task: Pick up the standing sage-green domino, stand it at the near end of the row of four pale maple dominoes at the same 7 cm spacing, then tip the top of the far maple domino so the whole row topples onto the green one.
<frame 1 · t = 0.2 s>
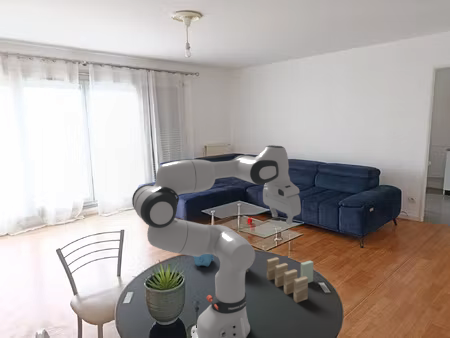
hand: (281, 220, 121), 39 cm above the table, tool pointing down, fingers open, 8 cm apart
teapot: (202, 263, 171), on the table
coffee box: (239, 270, 162), on the table
end domino: (306, 281, 148), on the table
domino 1: (272, 277, 153), on the table
domino 4: (300, 299, 134), on the table
domino 2: (281, 284, 147), on the table
domino 3: (290, 291, 140), on the table
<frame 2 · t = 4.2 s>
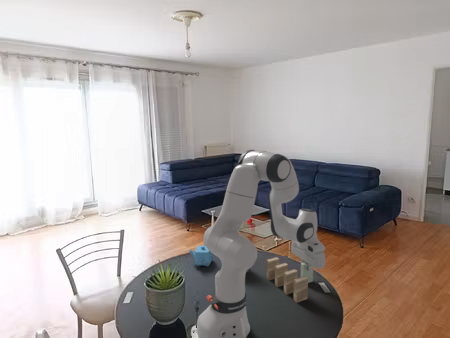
hand: (306, 269, 147), 7 cm above the table, tool pointing down, fingers closed on end domino, 2 cm apart
end domino: (306, 281, 148), on the table, touching gripper
everything else where it was.
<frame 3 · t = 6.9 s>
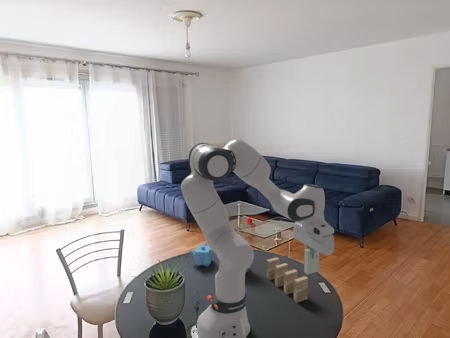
hand: (311, 256, 125), 23 cm above the table, tool pointing down, fingers closed on end domino
end domino: (311, 271, 126), point 16 cm above the table, touching gripper
everything else where it was.
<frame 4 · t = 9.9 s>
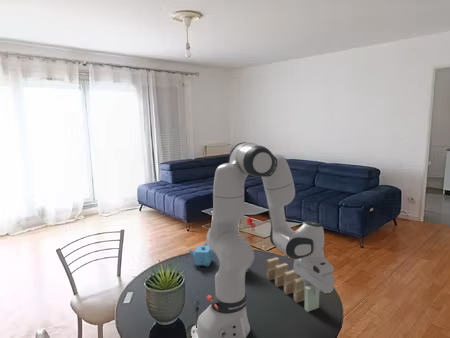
hand: (311, 291, 127), 8 cm above the table, tool pointing down, fingers open, 4 cm apart
end domino: (311, 308, 128), on the table
everything else where it was.
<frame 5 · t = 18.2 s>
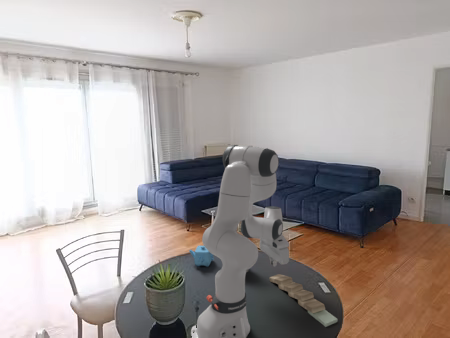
hand: (273, 265, 151), 7 cm above the table, tool pointing down, fingers closed
end domino: (313, 309, 127), on the table, tilted 90°, touching domino 4
domino 1: (274, 277, 151), point 1 cm above the table, tilted 74°, touching domino 2
domino 4: (303, 300, 132), point 1 cm above the table, tilted 79°, touching domino 3, end domino
domino 2: (283, 284, 145), point 1 cm above the table, tilted 73°, touching domino 1, domino 3
domino 3: (293, 291, 139), point 1 cm above the table, tilted 73°, touching domino 2, domino 4
everything else where it was.
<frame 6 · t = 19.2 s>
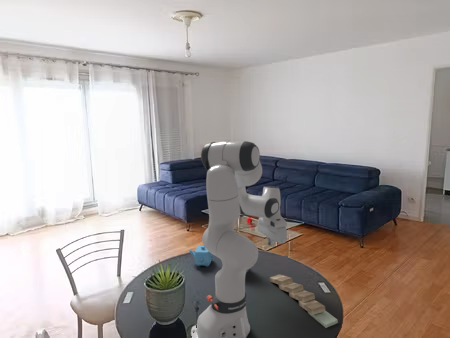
hand: (271, 245, 151), 17 cm above the table, tool pointing down, fingers closed
domino 4: (305, 301, 131), point 1 cm above the table, tilted 78°, touching domino 3, end domino
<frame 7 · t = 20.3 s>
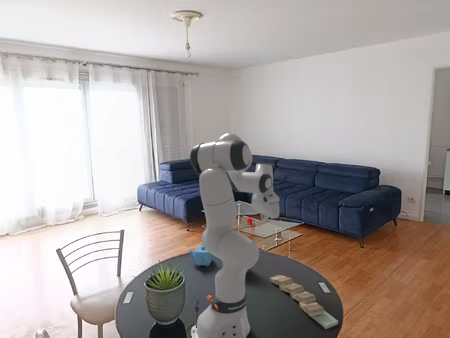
hand: (264, 221, 154), 27 cm above the table, tool pointing down, fingers closed
domino 4: (305, 303, 130), point 1 cm above the table, tilted 76°, touching domino 3, end domino
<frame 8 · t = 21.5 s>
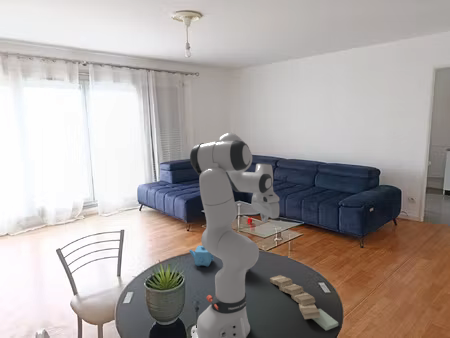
hand: (264, 221, 154), 27 cm above the table, tool pointing down, fingers closed
domino 4: (306, 305, 128), point 1 cm above the table, tilted 77°, touching domino 3, end domino
domino 3: (297, 294, 136), point 1 cm above the table, tilted 75°, touching domino 2, domino 4
at the end: end domino inside the target area (2.0 cm from its centre), on the table; end domino tilted 90°; domino 4 tilted 77° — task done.
